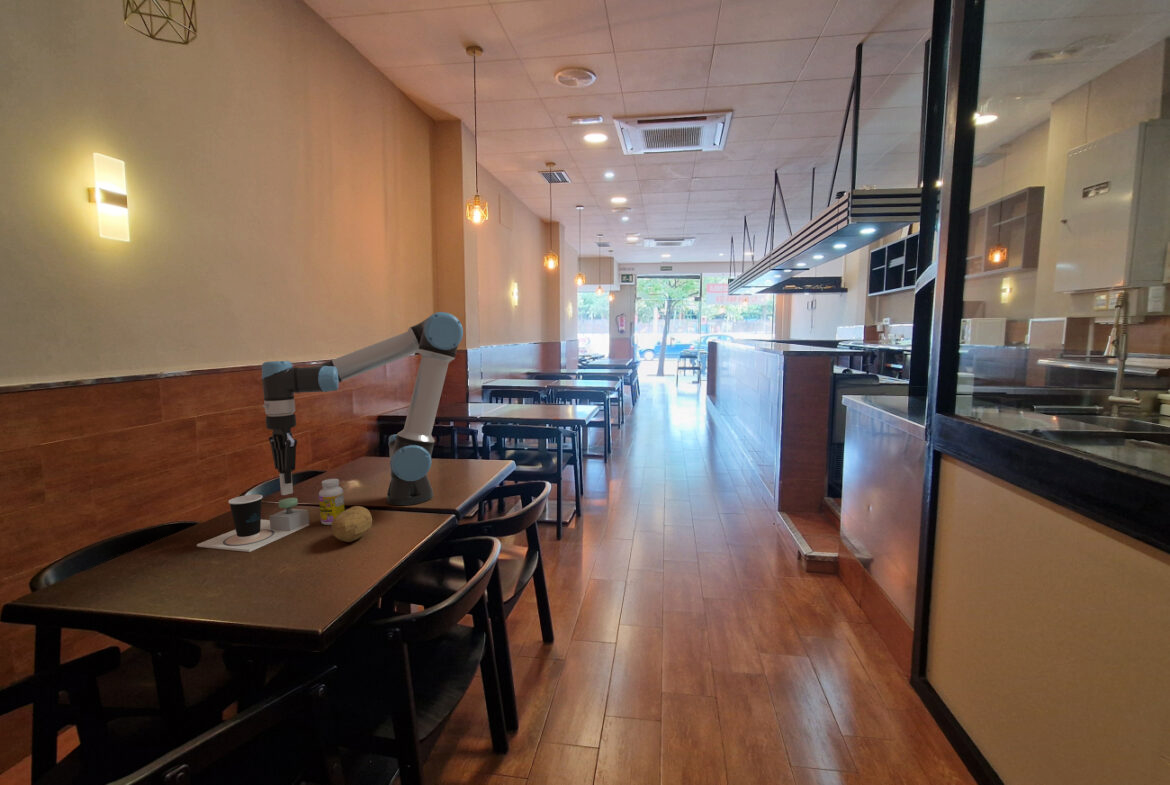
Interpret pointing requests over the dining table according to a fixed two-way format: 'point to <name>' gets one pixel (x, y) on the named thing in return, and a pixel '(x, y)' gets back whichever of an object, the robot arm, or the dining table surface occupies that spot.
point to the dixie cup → (246, 515)
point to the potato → (351, 524)
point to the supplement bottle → (330, 501)
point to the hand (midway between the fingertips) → (287, 493)
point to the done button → (288, 504)
